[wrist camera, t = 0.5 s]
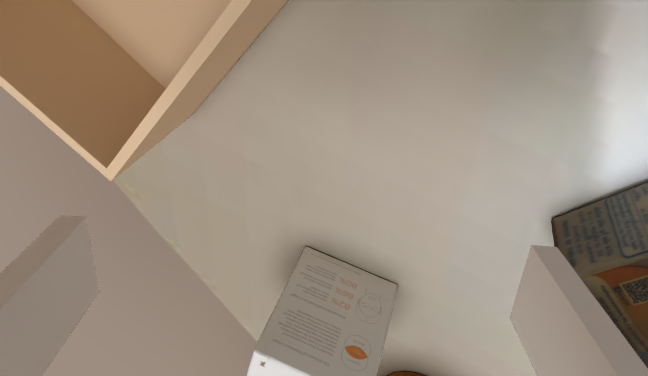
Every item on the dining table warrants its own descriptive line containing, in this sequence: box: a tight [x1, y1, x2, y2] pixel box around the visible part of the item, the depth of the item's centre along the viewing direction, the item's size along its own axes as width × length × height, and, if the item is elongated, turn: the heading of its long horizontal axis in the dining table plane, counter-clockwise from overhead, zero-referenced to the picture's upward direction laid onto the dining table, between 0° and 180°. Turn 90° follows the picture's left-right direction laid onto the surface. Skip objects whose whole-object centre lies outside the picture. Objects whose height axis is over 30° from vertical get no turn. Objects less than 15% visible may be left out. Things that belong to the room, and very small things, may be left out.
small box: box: [246, 247, 398, 376], centre depth 35 cm, size 8×6×10 cm
